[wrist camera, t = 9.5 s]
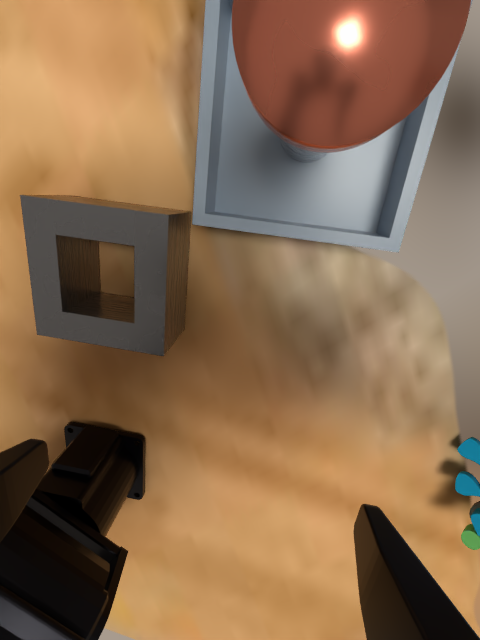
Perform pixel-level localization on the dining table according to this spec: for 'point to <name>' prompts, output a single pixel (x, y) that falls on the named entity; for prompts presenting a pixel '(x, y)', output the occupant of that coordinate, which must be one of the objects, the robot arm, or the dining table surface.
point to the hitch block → (84, 274)
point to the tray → (299, 163)
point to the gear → (470, 492)
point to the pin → (341, 65)
